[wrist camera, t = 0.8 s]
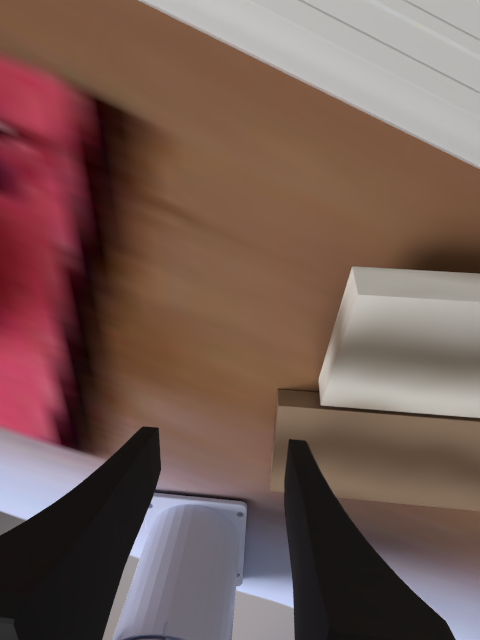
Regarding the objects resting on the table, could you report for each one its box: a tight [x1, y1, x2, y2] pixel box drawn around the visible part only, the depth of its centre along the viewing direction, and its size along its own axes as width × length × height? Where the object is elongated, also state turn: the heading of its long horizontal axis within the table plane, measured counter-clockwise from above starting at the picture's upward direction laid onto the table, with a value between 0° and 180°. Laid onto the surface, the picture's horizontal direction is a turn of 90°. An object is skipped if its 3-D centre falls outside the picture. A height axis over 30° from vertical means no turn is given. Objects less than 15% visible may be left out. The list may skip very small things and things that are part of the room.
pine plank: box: [319, 267, 480, 418], centre depth 18 cm, size 9×11×2 cm
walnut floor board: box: [270, 389, 480, 511], centre depth 23 cm, size 7×16×2 cm, turn 88°
